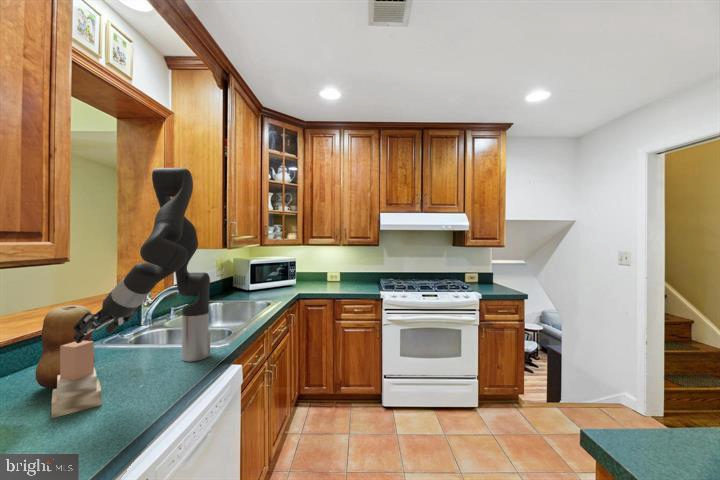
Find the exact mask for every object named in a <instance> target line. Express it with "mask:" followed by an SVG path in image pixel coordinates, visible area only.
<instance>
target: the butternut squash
mask: <svg viewBox="0 0 720 480" xmlns="http://www.w3.org/2000/svg"><path fill="white" fill-rule="evenodd" d="M89 312H90V313H91V314H92V315H93V313H92V311H91V309H90V308H88V307H86V306H83V305H78V304H70V305H62V306H61V305H60V306H58V307H55V308H52V309H51V310H49V311H48V313H47V314H46V315H45V317H44V319H43V323H42V327H41V342H42V343H41V344H42V353H41V356H40V358H39V361H38V362H37V366H36V369H35V380H36V381H37V384H38V385H39V386H40V387H42V388H45V389H48V390H49V389H51V390H53V389H57V378H58V375H60V346H62V345H65V344H69V343H72V342H75V340H74V339H73V337H74V336H75V334H76V332H75V330H74V329H73V327H74V326H75V325H76V324H77V323H78V322H79V320H80V319H81V318H82V317H83V316H84V315H85V314H86V313H89ZM91 327H92V326H90V327H89V328H88V329H90V328H91ZM93 333H94V330H93V331H92V332H90V333H89V334H88V335H87V336H86V337H85V339H84V340H83V341H91V338H92V337H93ZM95 359H96V358H95V357H94V363H95Z"/></svg>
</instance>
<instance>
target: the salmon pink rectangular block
mask: <svg viewBox="0 0 720 480" xmlns="http://www.w3.org/2000/svg"><path fill="white" fill-rule="evenodd" d="M94 344H95V342H94V341H93V340H90V341H82V342H81V343H76V342H72V343H69V344H65V345H62V346H60V379H67V380H77V379H80V378H82V377H85V376H87V375H90V374H92V373H94V368H95V362H94V358H95V349H94V348H95V345H94Z"/></svg>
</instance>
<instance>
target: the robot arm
mask: <svg viewBox="0 0 720 480" xmlns="http://www.w3.org/2000/svg"><path fill="white" fill-rule="evenodd" d="M192 176H193V175H192V172H191V171H190V170H189V169H188V168H185V167H157V168H156V167H155V168H154V169H153V170H152V173H151V181H152V186H153V189H154V193H155V196H156V199H157V202H158V205H159V209H158V211H157V213H156V215H155V218H154V224H153V227H152V231H151V233H150V235H149V236H148V237H147V239H146V240H145V241H144V242H143V244H142V245H141V246H140V249H139V254H140V257H141V258H142V260H143V261H144V262H139V263H137V264H134V266H133V267H132V268H131V270H130V271H129V272H128V273H127V274H126V276H125V277H123V279H121V280H120V281H119V282H117V284H116V285H115V286H114V287H113V289H112V290H111V291H110V292H109V293H108V295H107V296H106V297H105V298H104V299H103V300H102V307H101V309H100V310H99V311H97V312H96V313H94V314H93V313H92V312H91V313H92V314H91V313H90V312H89V313H86V314H85V315H84V316H83V317H82V318H81V319H80V320H79V322H78V323H77V324H76V325H75V326H74V327H73V329H74V330H75V332H76V334H75V336H74V337H73V339H74V340H75V342H76V343H81V342H82V341H83V340H84V339H85V337H86V336H87V335H88V334H89V333H90V332H92V331H93V332H94V331H95V330H96V331H97V330H99V329H101V328H102V327H104V326H106V325H107V326H106V327H105V331H106V332H107V334H108V335H109V334H110V335H111V334H113V333H114V332H115V330H117V329H118V328H119V326H122V325H123V324H124V323H129V322H130V321H131V320H132V318H133V317H134V316H135V315H136V314H137V313H138V311H139V309H140V308H139V306H141V304H142V303H143V302H144V301H145V299H146V298H147V297H148V295H149V294H150V292H151V291H152V290H153V289H154V288H155V287H156V285H157V284H159V283H160V282H161V281H162V280H164V279H166V278H168V277H169V276H171V275H173V274H174V273H175V280H176V286H177V291H178V293H179V295H180V296H181V297H198V299H197V300H196V301H195V302H193V303H190V304H187V305H184V306H183V308H182V309H181V317H182V319H181V322H182V323H181V326H182V327H181V359H182V361H184V362H197V361H201V360H204V359H207V358H208V357H211V332H210V331H209V330H210V328H209V326H210V324H209V323H210V321H209V315H210V314H209V313H210V311H209V310H210V309H209V308H210V289H211V279H210V278H211V277H210V275H209V273H208V272H189V271H188V266H189V263H190V261H191V259H192V258H193V256H194V255H195V253H196V252H197V249H198V247H199V240H198V233H197V229H196V227H195V225H194V224H193V223H192V221H190V220H189V218H187V216H185V215H186V212H187V209H188V206H189V203H190V201H191V198H192V195H193V191H194V180H193V177H192ZM171 197H172V198H171ZM96 321H97V323H98V324H96ZM90 326H92V327H91V328H90V329H88V328H89V327H90Z"/></svg>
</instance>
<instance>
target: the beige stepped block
mask: <svg viewBox="0 0 720 480" xmlns="http://www.w3.org/2000/svg"><path fill="white" fill-rule="evenodd" d="M97 377H98V376H97V372H96V368H95V367H94V373H92V374H90V375H87V376H85V377H82V378H80V379H77V380H67V379H60V375H58V378H57V388H56V389H55V388H52V393H51V396H52V397H51V419H54V418H59V417H62V416H65V415H68V414H73V413H77V412H81V411H84V410H87V409H91V408H95V407H98V406H102V387H101V383H100V379H99V378H97Z"/></svg>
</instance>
